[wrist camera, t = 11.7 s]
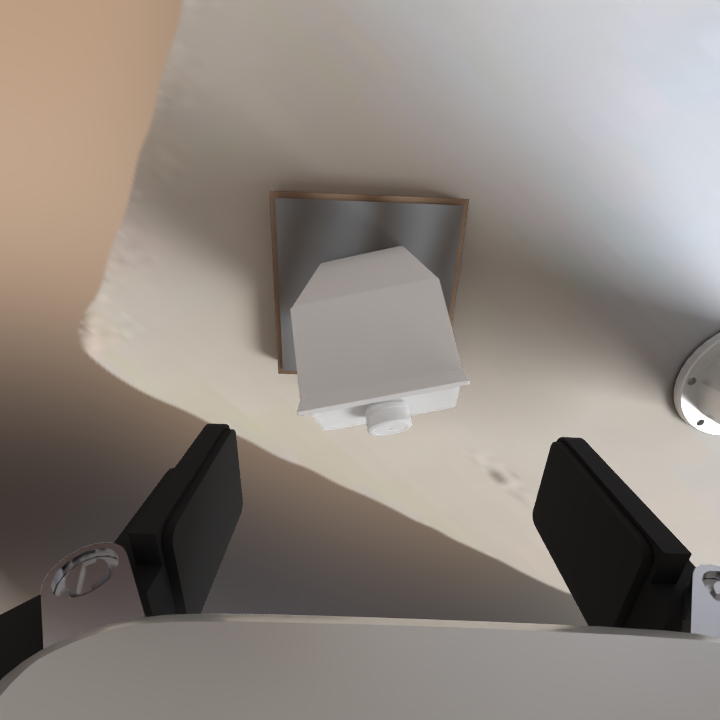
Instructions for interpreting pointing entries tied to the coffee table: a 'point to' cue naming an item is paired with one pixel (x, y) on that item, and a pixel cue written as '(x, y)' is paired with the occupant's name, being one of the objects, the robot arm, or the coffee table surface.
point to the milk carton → (374, 343)
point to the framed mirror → (357, 242)
